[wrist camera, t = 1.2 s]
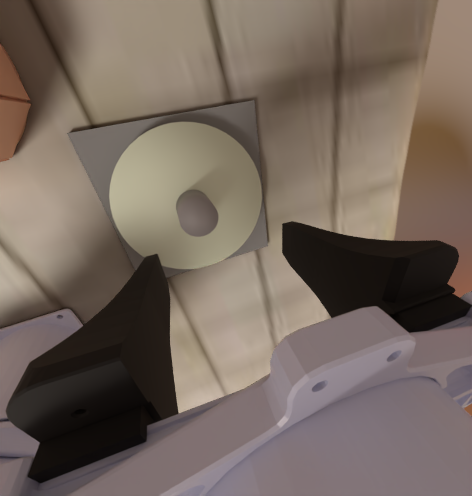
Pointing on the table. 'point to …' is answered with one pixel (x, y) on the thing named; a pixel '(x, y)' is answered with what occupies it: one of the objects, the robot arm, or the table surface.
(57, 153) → the table surface
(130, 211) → the lid
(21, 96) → the bowl
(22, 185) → the table surface
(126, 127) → the mat
